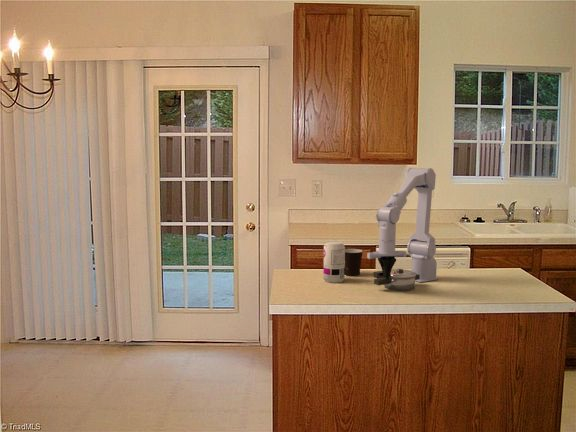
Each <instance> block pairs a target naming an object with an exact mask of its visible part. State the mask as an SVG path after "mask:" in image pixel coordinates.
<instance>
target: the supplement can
mask: <svg viewBox="0 0 576 432" xmlns="http://www.w3.org/2000/svg"><path fill="white" fill-rule="evenodd" d="M345 249H346V246H345V243H344V242H342V241H336V240H335V241H334V240H333V241H326V242H325V243H324V245H323V270H322V271H323V273H322V274H323V275H322V276H323V277H322V278H323V280H324V282H326V283H332V284H333V283H334V284H338V283H342V282H344V280H345V275H344V274H345Z"/></svg>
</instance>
